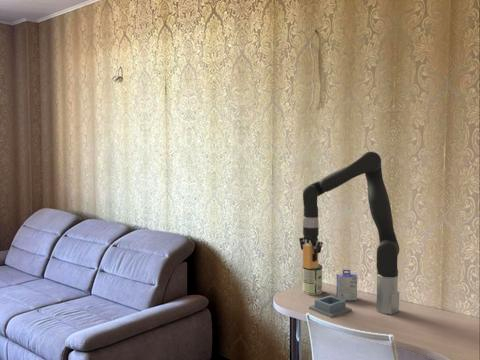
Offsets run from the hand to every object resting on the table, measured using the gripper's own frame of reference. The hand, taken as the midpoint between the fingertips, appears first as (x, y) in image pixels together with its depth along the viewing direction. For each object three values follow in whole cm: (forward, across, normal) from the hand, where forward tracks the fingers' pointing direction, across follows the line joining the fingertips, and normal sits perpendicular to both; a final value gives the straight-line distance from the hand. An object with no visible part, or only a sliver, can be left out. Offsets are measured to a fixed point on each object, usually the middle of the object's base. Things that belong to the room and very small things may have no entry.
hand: (310, 260), depth 225 cm
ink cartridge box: (+22, -8, -18) cm, 29 cm away
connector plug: (+3, 0, 0) cm, 3 cm away
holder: (+21, -13, 0) cm, 25 cm away
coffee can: (+21, +10, -12) cm, 26 cm away
